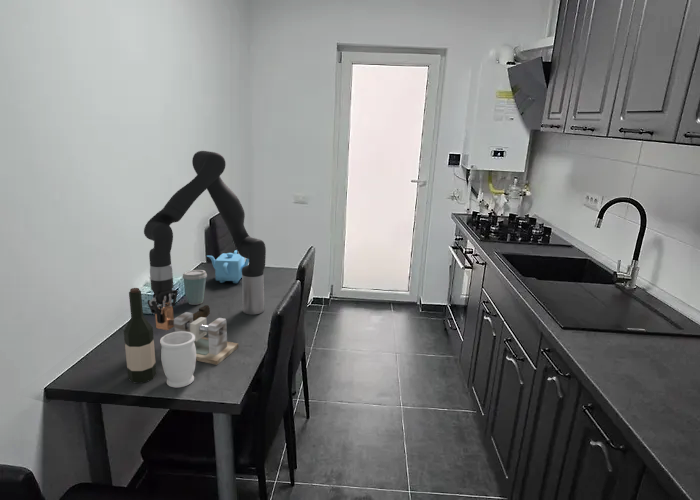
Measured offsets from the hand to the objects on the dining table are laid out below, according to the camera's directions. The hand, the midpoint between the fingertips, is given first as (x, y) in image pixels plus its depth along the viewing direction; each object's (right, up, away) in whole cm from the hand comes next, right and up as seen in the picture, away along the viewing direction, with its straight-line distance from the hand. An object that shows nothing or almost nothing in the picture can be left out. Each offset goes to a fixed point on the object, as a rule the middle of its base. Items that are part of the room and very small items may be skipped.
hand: (164, 320), depth 169 cm
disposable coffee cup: (-3, +2, +43) cm, 43 cm away
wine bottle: (+1, -15, -20) cm, 25 cm away
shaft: (+9, -4, -2) cm, 10 cm away
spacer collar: (+14, -5, -3) cm, 15 cm away
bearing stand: (+14, -11, -2) cm, 18 cm away
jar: (+14, -16, -22) cm, 31 cm away
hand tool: (+3, -4, +23) cm, 23 cm away
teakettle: (+5, +10, +76) cm, 77 cm away
